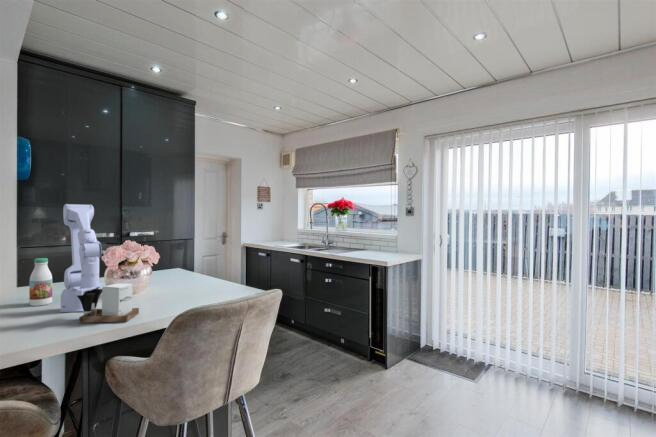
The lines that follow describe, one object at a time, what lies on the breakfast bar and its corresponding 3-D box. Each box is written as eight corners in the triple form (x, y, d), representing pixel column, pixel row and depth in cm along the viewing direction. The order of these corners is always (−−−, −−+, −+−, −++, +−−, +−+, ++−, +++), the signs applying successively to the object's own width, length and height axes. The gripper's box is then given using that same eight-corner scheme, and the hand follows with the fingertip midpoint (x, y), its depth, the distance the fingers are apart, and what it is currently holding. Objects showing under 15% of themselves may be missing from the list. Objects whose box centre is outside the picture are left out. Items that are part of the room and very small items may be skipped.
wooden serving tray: (77, 322, 124) (77, 307, 124) (94, 313, 135) (94, 299, 135) (126, 321, 127) (126, 306, 127) (138, 313, 137) (138, 299, 137)
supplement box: (118, 321, 127) (118, 287, 127) (101, 319, 128) (101, 286, 128) (133, 315, 134) (133, 283, 134) (116, 314, 136) (117, 282, 136)
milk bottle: (25, 305, 147) (25, 259, 147) (45, 301, 154) (45, 257, 154) (35, 307, 144) (36, 260, 144) (56, 303, 151) (56, 258, 151)
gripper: (91, 277, 123) (90, 315, 123) (111, 271, 138) (110, 304, 138) (69, 278, 122) (69, 315, 122) (92, 271, 137) (91, 304, 137)
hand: (89, 309), depth 130 cm, fingers closed on wooden serving tray, 3 cm apart
